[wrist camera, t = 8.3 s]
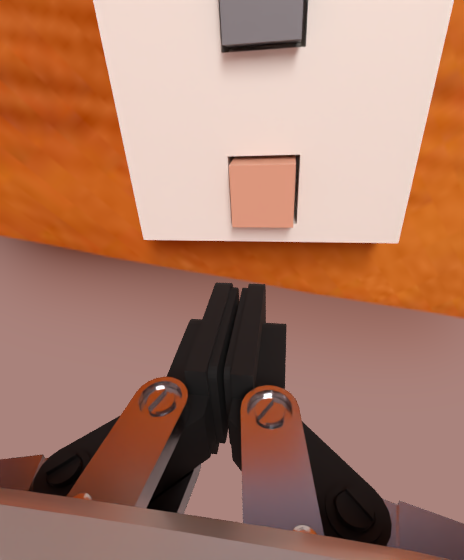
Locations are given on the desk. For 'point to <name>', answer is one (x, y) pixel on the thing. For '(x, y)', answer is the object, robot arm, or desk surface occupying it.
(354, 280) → the desk surface
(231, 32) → the grey key
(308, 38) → the key console
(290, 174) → the terracotta key
